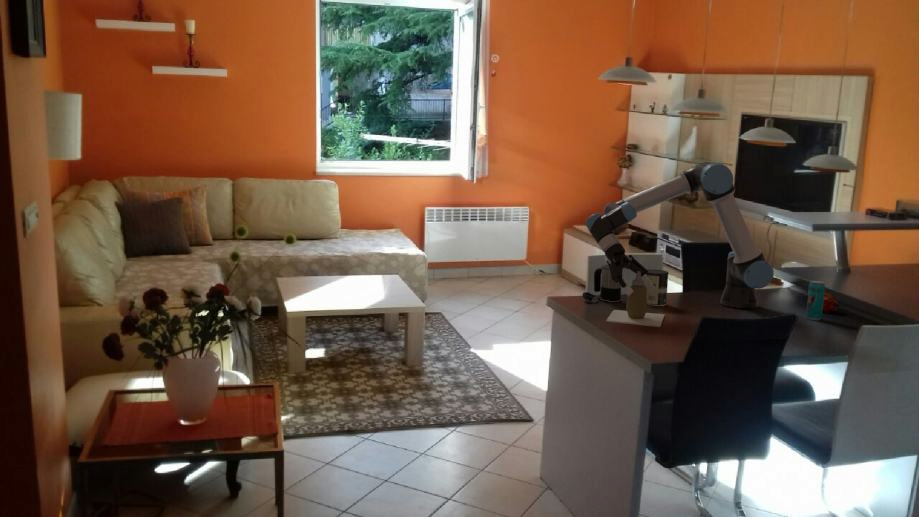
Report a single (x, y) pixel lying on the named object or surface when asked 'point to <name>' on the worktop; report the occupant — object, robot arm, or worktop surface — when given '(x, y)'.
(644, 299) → the squeeze bottle
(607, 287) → the milk frother
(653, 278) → the coffee can
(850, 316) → the worktop surface
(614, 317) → the mat
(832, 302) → the dragon fruit
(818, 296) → the beverage can
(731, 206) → the robot arm
